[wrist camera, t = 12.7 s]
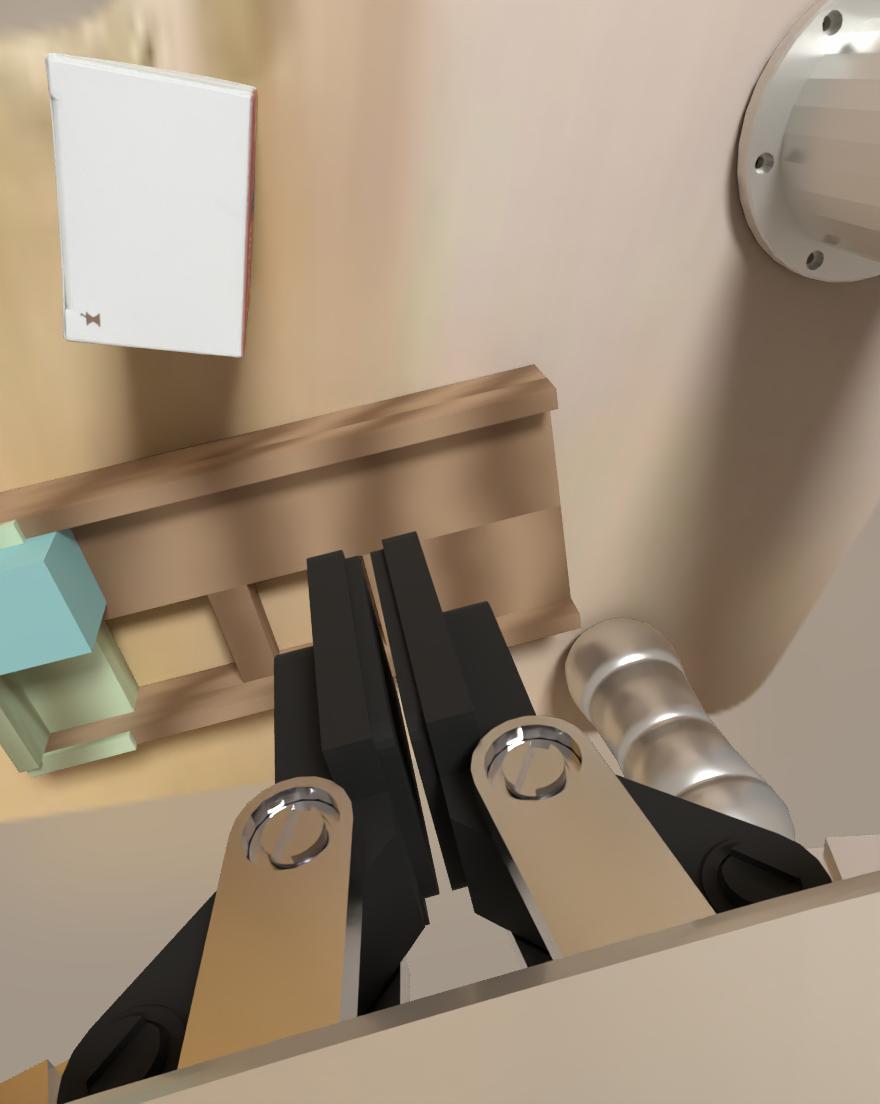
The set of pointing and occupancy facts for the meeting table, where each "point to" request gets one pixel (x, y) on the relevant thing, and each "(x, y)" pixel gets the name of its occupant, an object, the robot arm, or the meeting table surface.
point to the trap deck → (290, 548)
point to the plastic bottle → (663, 724)
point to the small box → (153, 204)
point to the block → (47, 602)
